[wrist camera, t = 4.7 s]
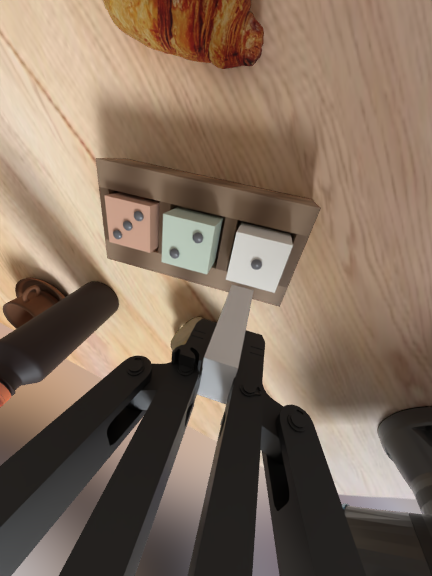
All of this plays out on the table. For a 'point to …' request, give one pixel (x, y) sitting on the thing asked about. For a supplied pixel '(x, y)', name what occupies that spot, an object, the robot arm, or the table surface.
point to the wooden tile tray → (214, 201)
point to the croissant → (193, 28)
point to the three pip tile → (133, 221)
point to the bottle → (52, 336)
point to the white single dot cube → (259, 256)
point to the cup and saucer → (30, 301)
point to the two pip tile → (190, 239)
